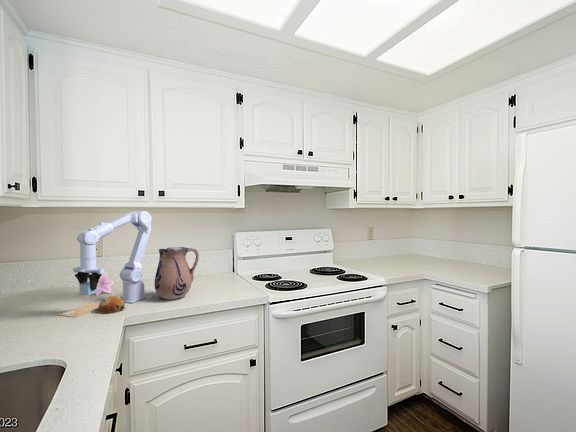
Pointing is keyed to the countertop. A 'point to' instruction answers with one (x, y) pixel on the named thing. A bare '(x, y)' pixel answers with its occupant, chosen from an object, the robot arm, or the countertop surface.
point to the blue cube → (86, 289)
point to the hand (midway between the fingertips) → (88, 289)
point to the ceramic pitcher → (174, 272)
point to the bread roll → (111, 305)
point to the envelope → (80, 310)
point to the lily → (104, 284)
